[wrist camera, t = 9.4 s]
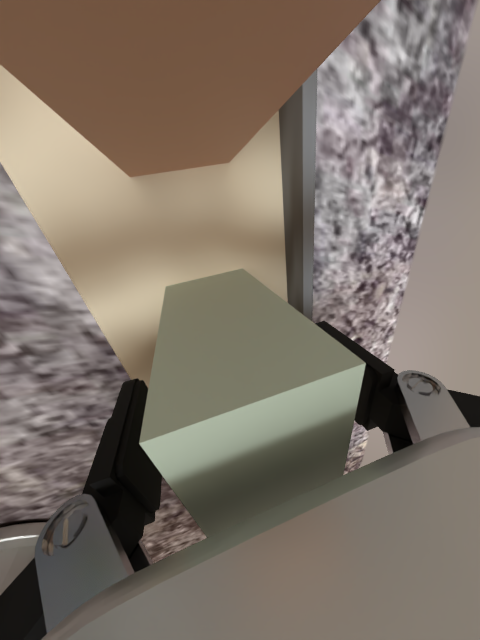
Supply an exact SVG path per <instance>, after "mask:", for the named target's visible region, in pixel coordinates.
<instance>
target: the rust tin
mask: <svg viewBox="0 0 480 640" xmlns="http://www.w3.org/2000/svg"><path fill="white" fill-rule="evenodd" d="M380 1H381V0H0V65H1V66H3V67H4V68H5V69H6V70H7V71H8V72H9V73H11V74H12V75H13V76H14V77H15V78H16V79H18V80H19V81H20V82H21V83H22V84H23V85H24V86H26V87H27V88H28V89H29V90H30V91H31V92H32V93H34V94H35V95H36V96H37V97H38V98H39V99H41V100H42V101H43V102H44V103H45V104H46V105H47V106H49V107H50V108H51V109H52V110H53V111H54V112H55V113H57V114H58V115H59V116H60V117H61V118H62V119H63V120H65V121H66V122H67V123H68V124H69V125H70V126H72V127H73V128H74V129H75V130H76V131H77V132H78V133H80V134H81V135H82V136H83V137H84V138H85V139H86V140H88V141H89V142H90V143H91V144H92V145H93V146H95V147H96V148H97V149H98V150H99V151H100V152H101V153H103V154H104V155H105V156H106V157H107V158H108V159H109V160H111V161H112V162H113V163H114V164H115V165H116V166H118V167H119V168H120V169H121V170H122V171H123V172H124V173H126V174H127V175H128V176H129V177H135V176H142V175H149V174H156V173H163V172H169V171H176V170H183V169H190V168H197V167H203V166H210V165H217V164H224V163H229V162H230V161H231V160H232V159H233V158H234V157H235V156H236V155H237V154H238V153H239V152H240V151H241V150H242V148H243V147H244V146H245V145H246V144H247V143H248V142H249V141H250V140H251V139H252V138H253V137H254V136H255V135H256V133H257V132H258V131H259V130H260V129H261V128H262V127H263V126H264V125H265V124H266V123H267V122H268V121H269V120H270V118H271V117H272V116H273V115H274V114H275V113H276V112H277V111H278V110H279V109H280V108H281V107H282V106H283V105H284V103H285V102H286V101H287V100H288V99H289V98H290V97H291V96H292V95H293V94H294V93H295V92H296V91H297V90H298V88H299V87H300V86H301V85H302V84H303V83H304V82H305V81H306V80H307V79H308V78H309V77H310V76H311V75H312V73H313V72H314V71H315V70H316V69H317V68H318V67H319V66H320V65H321V64H322V63H323V62H324V61H325V59H326V58H327V57H328V56H329V55H330V54H331V53H332V52H333V51H334V50H335V49H336V48H337V47H338V46H339V44H340V43H341V42H342V41H343V40H344V39H345V38H346V37H347V36H348V35H349V34H350V33H351V32H352V31H353V29H354V28H355V27H356V26H357V25H358V24H359V23H360V22H361V21H362V20H363V19H364V18H365V17H366V16H367V14H368V13H369V12H370V11H371V10H372V9H373V8H374V7H375V6H376V5H377V4H378V3H379V2H380Z"/></svg>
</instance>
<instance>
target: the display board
mask: <svg viewBox="0 0 480 640" xmlns="http://www.w3.org/2000/svg"><path fill="white" fill-rule="evenodd" d="M316 109H317V69H316V70H315V71H314V72H313V73H312V75H311V76H310V77H309V78H308V79H307V80H306V81H305V82H304V83H303V84H302V85H301V86H300V87H299V88H298V90H297V91H296V92H295V93H294V94H293V95H292V96H291V97H290V98H289V99H288V100H287V101H286V102H285V103H284V105H283V106H282V107H281V108H280V109H279V110H278V111H277V112H276V113H275V114H274V115H273V116H272V117H271V118H270V120H269V121H268V122H267V123H266V124H265V125H264V126H263V127H262V128H261V129H260V130H259V131H258V132H257V133H256V135H255V136H254V137H253V138H252V139H251V140H250V141H249V142H248V143H247V144H246V145H245V146H244V147H243V148H242V150H241V151H240V152H239V153H238V154H237V155H236V156H235V157H234V158H233V159H232V160H231V161H230V162H229V163H224V164H217V165H210V166H203V167H197V168H190V169H183V170H176V171H169V172H163V173H156V174H149V175H142V176H135V177H129V176H128V175H127V174H126V173H124V172H123V171H122V170H121V169H120V168H119V167H118V166H116V165H115V164H114V163H113V162H112V161H111V160H109V159H108V158H107V157H106V156H105V155H104V154H103V153H101V152H100V151H99V150H98V149H97V148H96V147H95V146H93V145H92V144H91V143H90V142H89V141H88V140H86V139H85V138H84V137H83V136H82V135H81V134H80V133H78V132H77V131H76V130H75V129H74V128H73V127H72V126H70V125H69V124H68V123H67V122H66V121H65V120H63V119H62V118H61V117H60V116H59V115H58V114H57V113H55V112H54V111H53V110H52V109H51V108H50V107H49V106H47V105H46V104H45V103H44V102H43V101H42V100H41V99H39V98H38V97H37V96H36V95H35V94H34V93H32V92H31V91H30V90H29V89H28V88H27V87H26V86H24V85H23V84H22V83H21V82H20V81H19V80H18V79H16V78H15V77H14V76H13V75H12V74H11V73H9V72H8V71H7V70H6V69H5V68H4V67H3V66H1V65H0V162H1V164H2V165H3V167H4V169H5V170H6V172H7V174H8V175H9V177H10V179H11V180H12V182H13V184H14V185H15V187H16V189H17V190H18V192H19V194H20V195H21V197H22V199H23V200H24V202H25V204H26V205H27V207H28V209H29V210H30V212H31V214H32V215H33V217H34V219H35V220H36V222H37V224H38V225H39V227H40V229H41V230H42V232H43V234H44V235H45V237H46V239H47V240H48V242H49V244H50V245H51V247H52V249H53V250H54V252H55V254H56V255H57V257H58V259H59V260H60V262H61V264H62V265H63V267H64V269H65V270H66V272H67V274H68V275H69V277H70V279H71V280H72V282H73V284H74V285H75V287H76V289H77V290H78V292H79V294H80V295H81V297H82V299H83V300H84V302H85V304H86V305H87V307H88V309H89V310H90V312H91V314H92V315H93V317H94V319H95V320H96V322H97V324H98V325H99V327H100V329H101V330H102V332H103V334H104V335H105V337H106V339H107V340H108V342H109V344H110V345H111V347H112V349H113V350H114V352H115V354H116V355H117V357H118V359H119V360H120V362H121V364H122V365H123V367H124V368H125V370H126V372H127V373H128V375H129V377H130V378H131V380H133V379H136V378H138V379H139V380H143V381H144V382H145V384H146V385H147V387H148V388H149V382H150V376H151V370H152V364H153V358H154V353H155V347H156V341H157V335H158V329H159V323H160V317H161V311H162V305H163V300H164V294H165V288H166V286H169V285H174V284H178V283H182V282H187V281H191V280H195V279H199V278H204V277H208V276H212V275H216V274H221V273H225V272H229V271H233V270H238V269H242V268H243V269H244V270H245V271H247V272H248V273H249V274H250V275H252V276H253V277H254V278H256V279H257V280H258V281H260V282H261V283H262V284H264V285H265V286H266V287H267V288H269V289H270V290H271V291H273V292H274V293H275V294H277V295H278V296H279V297H281V298H282V299H283V300H284V301H286V302H287V303H288V304H290V305H291V306H292V307H294V308H295V309H296V310H298V311H299V312H300V313H301V314H303V315H304V316H305V317H307V318H308V319H309V320H311V321H312V304H313V255H314V206H315V157H316Z"/></svg>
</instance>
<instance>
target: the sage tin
mask: <svg viewBox="0 0 480 640" xmlns="http://www.w3.org/2000/svg"><path fill="white" fill-rule="evenodd" d="M365 365H366V363H365V362H364V361H363V360H362V359H360V358H359V357H358V356H356V355H355V354H354V353H352V352H351V351H350V350H348V349H347V348H346V347H345V346H343V345H342V344H341V343H339V342H338V341H337V340H335V339H334V338H333V337H331V336H330V335H329V334H328V333H326V332H325V331H324V330H322V329H321V328H320V327H318V326H317V325H316V324H314V323H313V322H312V321H311V320H309V319H308V318H307V317H305V316H304V315H303V314H301V313H300V312H299V311H298V310H296V309H295V308H294V307H292V306H291V305H290V304H288V303H287V302H286V301H284V300H283V299H282V298H281V297H279V296H278V295H277V294H275V293H274V292H273V291H271V290H270V289H269V288H267V287H266V286H265V285H264V284H262V283H261V282H260V281H258V280H257V279H256V278H254V277H253V276H252V275H250V274H249V273H248V272H247V271H245V270H244V269H243V268H242V269H238V270H233V271H229V272H225V273H221V274H216V275H212V276H208V277H204V278H199V279H195V280H191V281H187V282H182V283H178V284H174V285H169V286H166V288H165V294H164V300H163V305H162V311H161V317H160V323H159V329H158V335H157V341H156V347H155V353H154V358H153V364H152V370H151V376H150V382H149V388H148V394H147V400H146V406H145V412H144V417H143V423H142V429H141V435H140V441H139V444H140V446H141V447H142V448H143V450H144V451H145V452H146V454H147V455H148V457H149V458H150V459H151V461H152V462H153V463H154V465H155V466H156V468H157V469H158V470H159V472H160V473H161V475H162V476H163V477H164V479H165V480H166V481H167V483H168V484H169V486H170V487H171V488H172V490H173V491H174V492H175V494H176V495H177V497H178V498H179V499H180V501H181V502H182V504H183V505H184V506H185V508H186V509H187V510H188V512H189V513H190V515H191V516H192V517H193V519H194V520H195V521H196V523H197V524H198V526H199V527H200V528H201V530H202V531H203V532H204V534H205V535H206V537H207V538H208V537H211V536H213V535H215V534H217V533H219V532H221V531H223V530H226V529H228V528H230V527H232V526H234V525H236V524H239V523H241V522H243V521H245V520H247V519H249V518H251V517H254V516H256V515H258V514H260V513H262V512H264V511H267V510H269V509H271V508H273V507H275V506H278V505H280V504H282V503H284V502H286V501H288V500H291V499H293V498H295V497H297V496H299V495H302V494H304V493H306V492H308V491H310V490H313V489H315V488H317V487H319V486H321V485H323V484H326V483H328V482H330V481H332V480H334V479H337V478H339V477H341V476H343V473H344V468H345V463H346V458H347V454H348V449H349V444H350V439H351V434H352V429H353V424H354V419H355V414H356V409H357V405H358V400H359V395H360V390H361V385H362V380H363V375H364V370H365Z"/></svg>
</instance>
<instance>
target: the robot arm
mask: <svg viewBox="0 0 480 640" xmlns="http://www.w3.org/2000/svg"><path fill="white" fill-rule="evenodd" d="M316 325H317V326H318V327H320V328H321V329H322V330H324V331H325V332H326V333H328V334H329V335H330V336H331V337H333V338H334V339H335V340H337V341H338V342H339V343H341V344H342V345H343V346H345V347H346V348H347V349H348V350H350V351H351V352H352V353H354V354H355V355H356V356H358V357H359V358H360V359H362V360H363V361H364V362H365V363H366V365H365V370H364V375H363V380H362V385H361V390H360V395H359V400H358V405H357V409H356V414H355V419H354V420H355V421H356V422H357V423H358V424H359V425H363V426H364V428H365V429H366V430H367V431H368V430H370V429H373V428H375V427H379V428H380V429H381V430H382V431H383V434H384V438H385V442H386V446H387V450H388V454H389V455H388V456H385V457H383V458H381V459H379V460H376V461H374V462H372V463H370V464H368V465H365V466H363V467H361V468H359V469H357V470H354V471H352V472H350V473H348V474H345V475H343V476H341V477H339V478H337V479H334V480H332V481H330V482H328V483H326V484H323V485H321V486H319V487H317V488H315V489H313V490H310V491H308V492H306V493H304V494H302V495H299V496H297V497H295V498H293V499H291V500H288V501H286V502H284V503H282V504H280V505H278V506H275V507H273V508H271V509H269V510H267V511H264V512H262V513H260V514H258V515H256V516H254V517H251V518H249V519H247V520H245V521H243V522H241V523H239V524H236V525H234V526H232V527H230V528H228V529H226V530H223V531H221V532H219V533H217V534H215V535H213V536H211V537H208V538H206V539H204V540H202V541H200V542H198V543H195V544H193V545H191V546H189V547H187V548H185V549H183V550H181V551H179V552H177V553H175V554H172V555H170V556H168V557H166V558H164V559H162V560H160V561H158V562H156V563H153V561H152V559H151V558H150V556H149V554H148V552H147V550H146V548H145V546H144V545H143V543H142V541H141V538H142V536H143V530H144V526H145V525H147V524H149V523H152V522H154V521H155V511H156V510H158V509H159V506H160V496H161V480H162V475H161V473H160V472H159V470H158V469H157V468H156V466H155V465H154V463H153V462H152V461H151V459H150V458H149V457H148V455H147V454H146V452H145V451H144V450H143V448H142V447H141V446H140V444H139V441H140V435H141V429H142V423H143V417H144V412H145V406H146V400H147V394H148V387H147V385H146V384H145V382H144V381H143V380H139V379H138V378H136V379H133V380H130V381H126V382H124V383H123V384H122V387H121V390H120V393H119V396H118V399H117V402H116V405H115V408H114V411H113V414H112V417H111V418H110V419H109V420H108V421H107V424H106V426H105V429H104V432H103V435H102V438H101V441H100V444H99V447H98V449H97V452H96V455H95V458H94V461H93V464H92V467H91V470H90V473H89V476H88V478H87V481H86V484H85V487H84V490H83V493H82V494H81V495H77V496H75V497H73V498H72V499H70V500H68V501H67V502H66V503H64V504H63V505H62V506H61V507H60V508H59V509H58V510H57V511H56V512H55V513H54V514H53V515H52V516H51V518H50V519H49V520H48V522H33V523H24V524H16V525H11V526H5V527H0V640H480V396H475V395H470V394H466V393H461V392H456V391H452V390H447V389H446V387H445V386H444V385H443V384H442V383H441V382H440V381H439V380H438V379H436V378H435V377H433V376H431V375H429V374H426V373H423V372H419V371H412V370H408V371H403V372H401V373H399V375H398V374H396V373H395V372H394V369H392V368H391V367H390V366H388V365H387V364H386V363H384V362H383V361H381V360H380V359H378V358H377V357H375V356H374V355H373V354H371V353H370V352H368V351H367V350H365V349H364V348H363V347H361V346H360V345H358V344H357V343H355V342H354V341H352V340H351V339H350V338H348V337H347V336H345V335H344V334H342V333H341V332H340V331H338V330H337V329H335V328H334V327H332V326H331V325H330V324H328V323H327V322H325V321H322V322H319V323H316Z"/></svg>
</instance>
